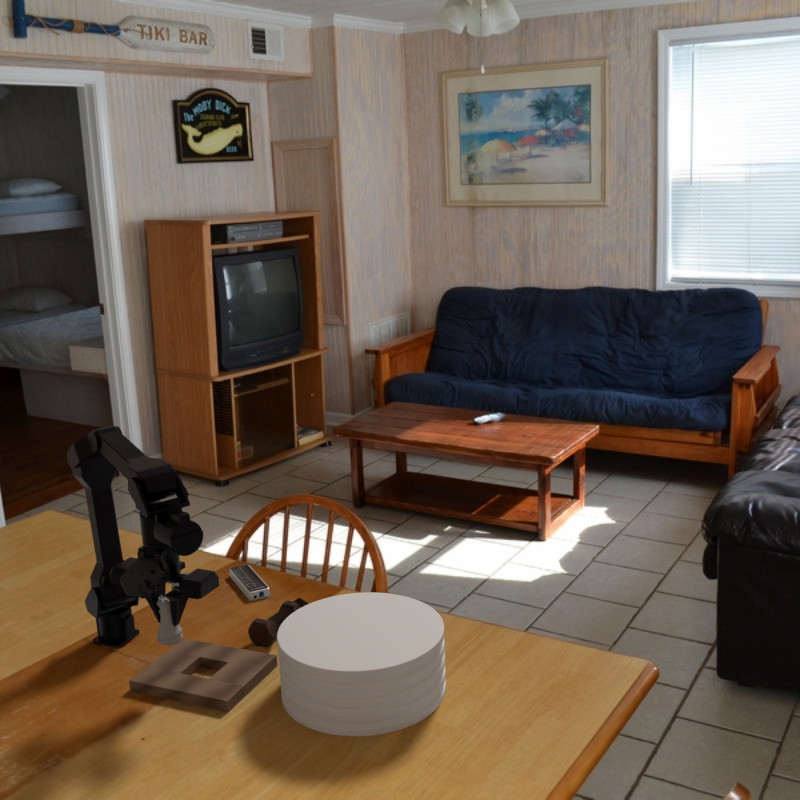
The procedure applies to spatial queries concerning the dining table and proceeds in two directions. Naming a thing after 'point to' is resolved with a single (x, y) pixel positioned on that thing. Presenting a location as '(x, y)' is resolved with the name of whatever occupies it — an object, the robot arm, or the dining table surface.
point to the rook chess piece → (167, 624)
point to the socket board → (218, 692)
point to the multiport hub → (249, 582)
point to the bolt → (272, 623)
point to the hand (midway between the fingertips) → (168, 623)
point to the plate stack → (362, 663)
